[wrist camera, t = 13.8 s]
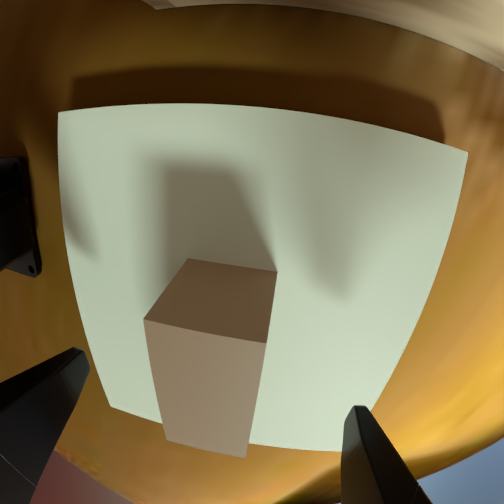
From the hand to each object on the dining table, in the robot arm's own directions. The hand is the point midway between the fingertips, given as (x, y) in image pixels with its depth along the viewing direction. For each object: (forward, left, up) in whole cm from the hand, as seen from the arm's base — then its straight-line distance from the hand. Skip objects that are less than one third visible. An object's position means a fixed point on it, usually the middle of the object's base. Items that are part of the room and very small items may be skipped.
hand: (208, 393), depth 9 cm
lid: (0, 0, -5) cm, 5 cm away
